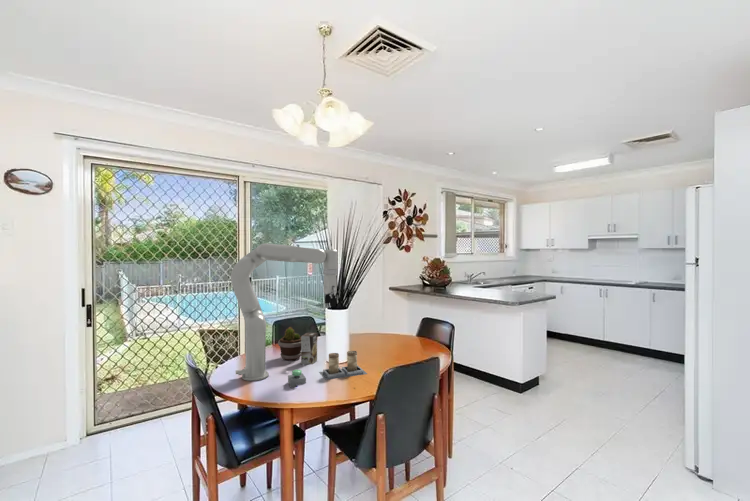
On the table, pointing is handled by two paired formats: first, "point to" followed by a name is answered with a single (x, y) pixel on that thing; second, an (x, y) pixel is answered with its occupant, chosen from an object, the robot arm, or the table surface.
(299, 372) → the button
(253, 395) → the table surface
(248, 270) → the robot arm
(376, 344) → the table surface
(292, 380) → the console
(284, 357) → the flowerpot
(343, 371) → the tray
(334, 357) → the cylinder
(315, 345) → the coffee box
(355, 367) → the cylinder
